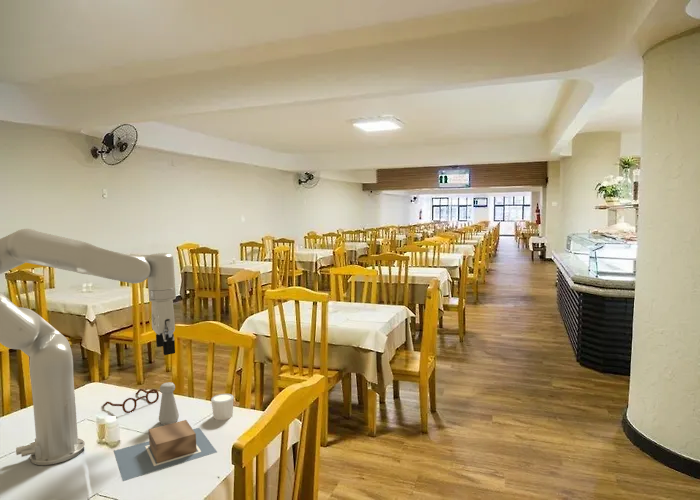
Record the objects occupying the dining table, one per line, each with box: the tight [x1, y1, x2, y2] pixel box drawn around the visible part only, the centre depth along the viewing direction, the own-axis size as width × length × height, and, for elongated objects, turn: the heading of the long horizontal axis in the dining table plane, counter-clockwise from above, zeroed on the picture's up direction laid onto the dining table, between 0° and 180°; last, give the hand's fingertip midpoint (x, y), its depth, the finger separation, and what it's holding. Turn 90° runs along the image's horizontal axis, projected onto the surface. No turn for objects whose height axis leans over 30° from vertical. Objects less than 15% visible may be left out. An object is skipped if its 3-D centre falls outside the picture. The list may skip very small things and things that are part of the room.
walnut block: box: [148, 419, 197, 463], centre depth 126 cm, size 10×10×5 cm
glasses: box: [101, 388, 160, 414], centre depth 158 cm, size 13×13×5 cm
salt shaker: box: [158, 381, 180, 426], centre depth 142 cm, size 6×6×13 cm
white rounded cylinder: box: [210, 393, 234, 421], centre depth 145 cm, size 7×7×7 cm
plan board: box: [113, 427, 218, 482], centre depth 125 cm, size 23×17×1 cm
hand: (165, 349), depth 140 cm, fingers open, 9 cm apart
